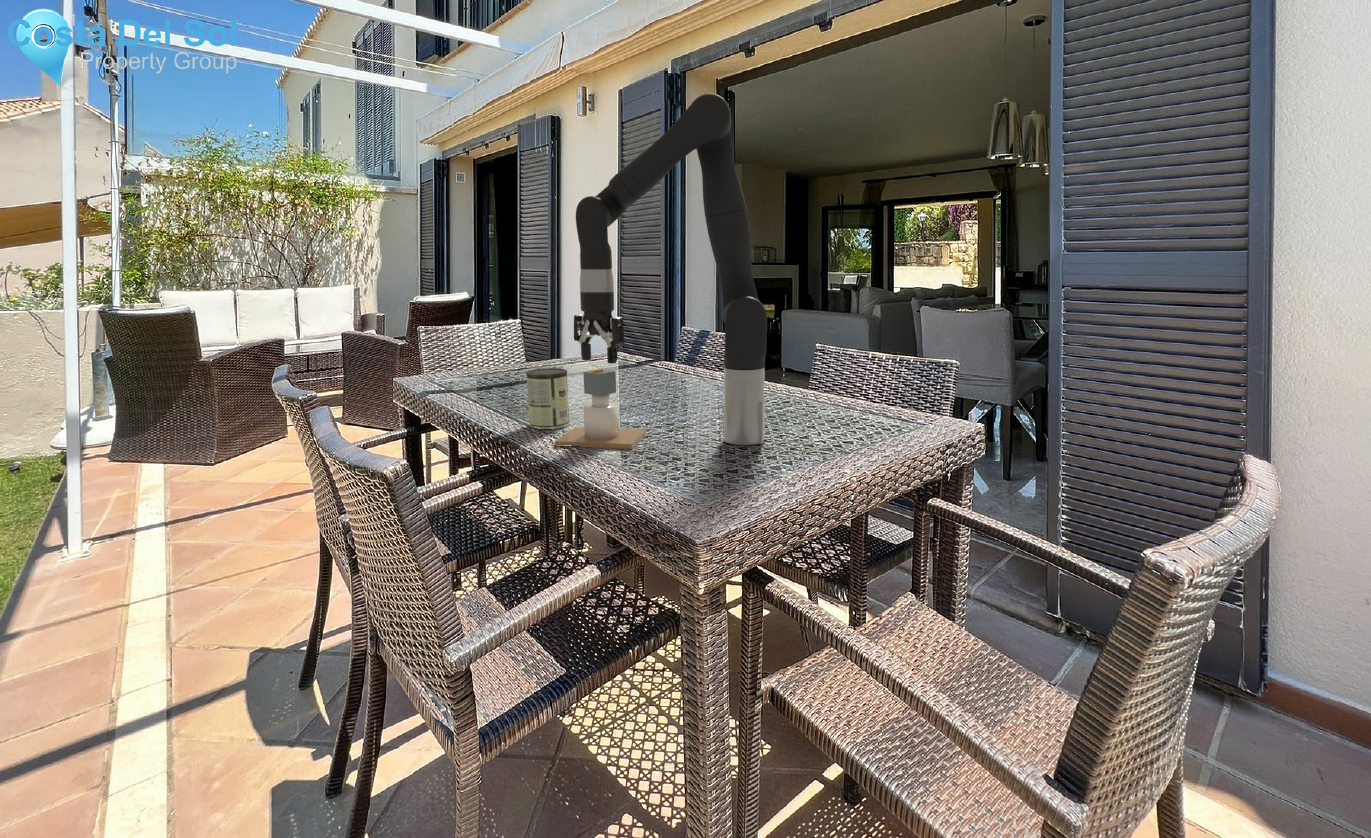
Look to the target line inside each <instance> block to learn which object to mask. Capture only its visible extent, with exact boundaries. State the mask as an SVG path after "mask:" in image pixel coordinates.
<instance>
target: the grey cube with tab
mask: <svg viewBox="0 0 1371 838" xmlns="http://www.w3.org/2000/svg"><path fill="white" fill-rule="evenodd" d="M616 374H617V372H616V370H611V369H610V370H608V369H604V368H594V369H590V370H587V371H583V390H584V391H583V393H584V394H586V395H591V396H592V395H598V396H602V395H607V394H609V395H610V394H611V395H612V394H615V393H617V380H616V379H617V378H616V377H617V375H616Z"/></svg>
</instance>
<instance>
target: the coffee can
mask: <svg viewBox="0 0 1371 838" xmlns="http://www.w3.org/2000/svg"><path fill="white" fill-rule="evenodd" d="M525 376H526V384H527V385H526V387H527V402H528V415H529V417H528V418H529V427H530V426H533V427H536V428H540V429H551V430H559V429H565V428H566V427H569V426H570V410H569V409H570V408H569V388H568V370H567V369H565V368H564V369H563V368H554V367H553V368H550V367H549V368H547V367H546V368H537V369H531V370H528V371H526V372H525Z"/></svg>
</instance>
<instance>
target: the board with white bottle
mask: <svg viewBox="0 0 1371 838" xmlns="http://www.w3.org/2000/svg"><path fill="white" fill-rule="evenodd" d="M583 422H584V423H583V424H584V426H583V427H579V426H577V427H573V428H572V429H570V430H568V431H567V432H566V433H565V434H563V435H561V436H560V437H559V438H558V439H556V440H555V441H554V446H555V445H571V446H582V447H581V448H585V447H592V448H593V449H611V450H612V449H616V450H632V449H634V448H635V447H636V445H638V443H639V442H640V441H641V440H642V439H644V437H645V436H646V435H647V429H644V428H643V429H641V428H640V429H638V428H620V426H619V404H617V403H613V402H610V394H607V395H602V396H598V395H591V403H588V404H584V405H583ZM592 448H591V449H592Z"/></svg>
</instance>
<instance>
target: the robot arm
mask: <svg viewBox="0 0 1371 838" xmlns="http://www.w3.org/2000/svg"><path fill="white" fill-rule="evenodd" d="M732 140H733V139H732V114H731V109H730V106H729V105H728V102H727V101H726V100H725V99H724V97H721V96H720V95H718V94H716V93H704V94H701V95H699V96H698V97H696V98H695V99H694V100H693V101H692V103H691V104H690V105H689V106H688V107H687V109H686V110H685V111H684V112H683V113H682V115H681V116H679V118H678V119H677V120H676V121H675V123H674V124H672V125H671V126H670V128H669V129H668V130H666V131H665V132H664V134H662V135H661V136H660V138H658V139H657V140H656V141H655V142H654V143H653V144H651V145H650V146H649V147H648V148H647V149H645V150H643V151H642V153H640V154H639V155H638V156H636V157H635V158H634V159H633V160H631V161H630V162H629V163H628V164H626V165H625V166H624V167H623V168H621V170H619V171H618V172H617V173H616V174H615V175H614V176H612V178H611V179H610V180H609V182H608V185H607V186H606V187H604V188H603V189H602V190H601V191H600V192H598V194H597V195H595V196H593V195H589V196H585V197H584V198H581V200H580V201H579V202H578V204H577V205H576V207H575V208H576V210H575V224H576V232H577V237H578V238H577V239H578V243H579V248H580V249H579V251H580V252H579V264H580V267H579V269H580V271H579V272H580V273H579V274H580V275H579V297H580V300H579V301H580V311H581V312H583V314H575V315H574V316H573V341H576V342H578V343H579V344H580V355H581V360H583V361H591V359H592V348H591V347H592V346H591V341H592V339H593V338H594V337H595V336H599V337H601V339H603V340H604V342H605V343H606V346H607V347H606V348H607V349H606V355H607V357H606V358H607V364H616V363H617V361H618V347H619V346H620V345H622V344H625V331H624V319H623V317H622V316H617V317H613V315H612V314H613V313H612V312H613V311H614V310H615V289H614V284H615V282H614V275H613V258H612V257H613V255H612V253H613V252H612V248H611V247H612V246H611V245H610V243H609V232H608V230H609V229H608V228H609V227H610V226H611V225H612V224H614V223H615V222H616V221H617V220H618V219H619V218H620V217H621V216H622V215H623V213H625V212H626V210H627V209H628V208H629V207H631V206H632V205H634V203H636V202H638V200H640V199H642V197H644V196H645V195H646V194H647V193H648V192H650V191H651V190H652V189H653V188H654V187H655V186H656V185H657V184H659V183H660V181H662V179H664V177H666V175H667V174H668V173H669V172H670V171H671V170H672V169H673V168H674V167H675V166H676V165H677V164H679V162H680V161H682V159H684V158H685V157H687V155H689V154H690V153H691V152H693V151H695V150H696V152H697V157H698V159H699V164H700V169H701V170H700V171H701V174H702V175H701V176H702V199H703V200H702V201H703V211H704V218H705V223H706V228H707V235H708V239H709V242H710V246H711V251H712V255H713V257H714V261H715V265H716V267H717V271H718V275H719V280H720V285H721V294H722V295H721V296H722V297H721V298H722V311H723V312H722V313H723V314H722V316H723V321H724V353H723V441H724V442H725V443H727V444H731V445H735V446H753V445H762V444H764V440H765V431H766V430H765V429H766V428H765V424H766V423H765V421H766V420H765V417H766V399H765V373H766V371H765V369H766V368H765V367H766V366H765V365H766V363H765V362H766V355H767V343H768V341H767V340H768V338H767V337H768V336H767V335H768V334H767V333H768V315H767V311H766V308H765V306H764V304H763V303H762V302H761V301H760V299H759V297H758V294H757V289H756V284H755V281H754V277H753V271H752V237H751V236H752V235H751V228H750V227H751V225H750V221H749V220H750V219H749V214H748V210H747V209H748V208H747V204H746V200H745V195H744V191H743V188H742V185H741V182H740V179H739V176H738V173H737V170H736V165H735V160H734V152H733V141H732Z"/></svg>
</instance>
